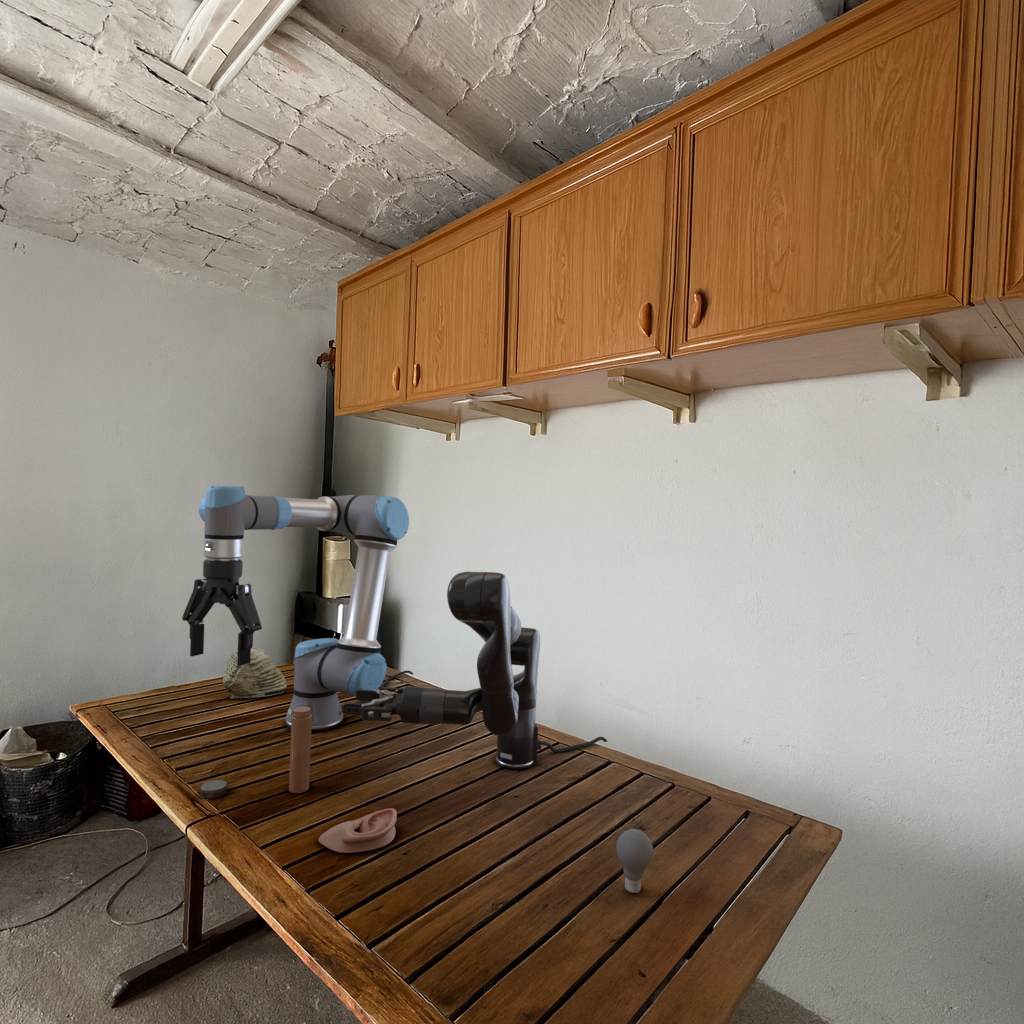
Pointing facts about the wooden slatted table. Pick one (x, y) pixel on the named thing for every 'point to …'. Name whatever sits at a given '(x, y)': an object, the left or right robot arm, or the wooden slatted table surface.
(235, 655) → the fossil
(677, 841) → the wooden slatted table surface
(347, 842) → the anatomical model
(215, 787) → the lid
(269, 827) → the wooden slatted table surface
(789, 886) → the wooden slatted table surface
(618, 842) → the light bulb
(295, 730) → the pinkish brown cylinder
